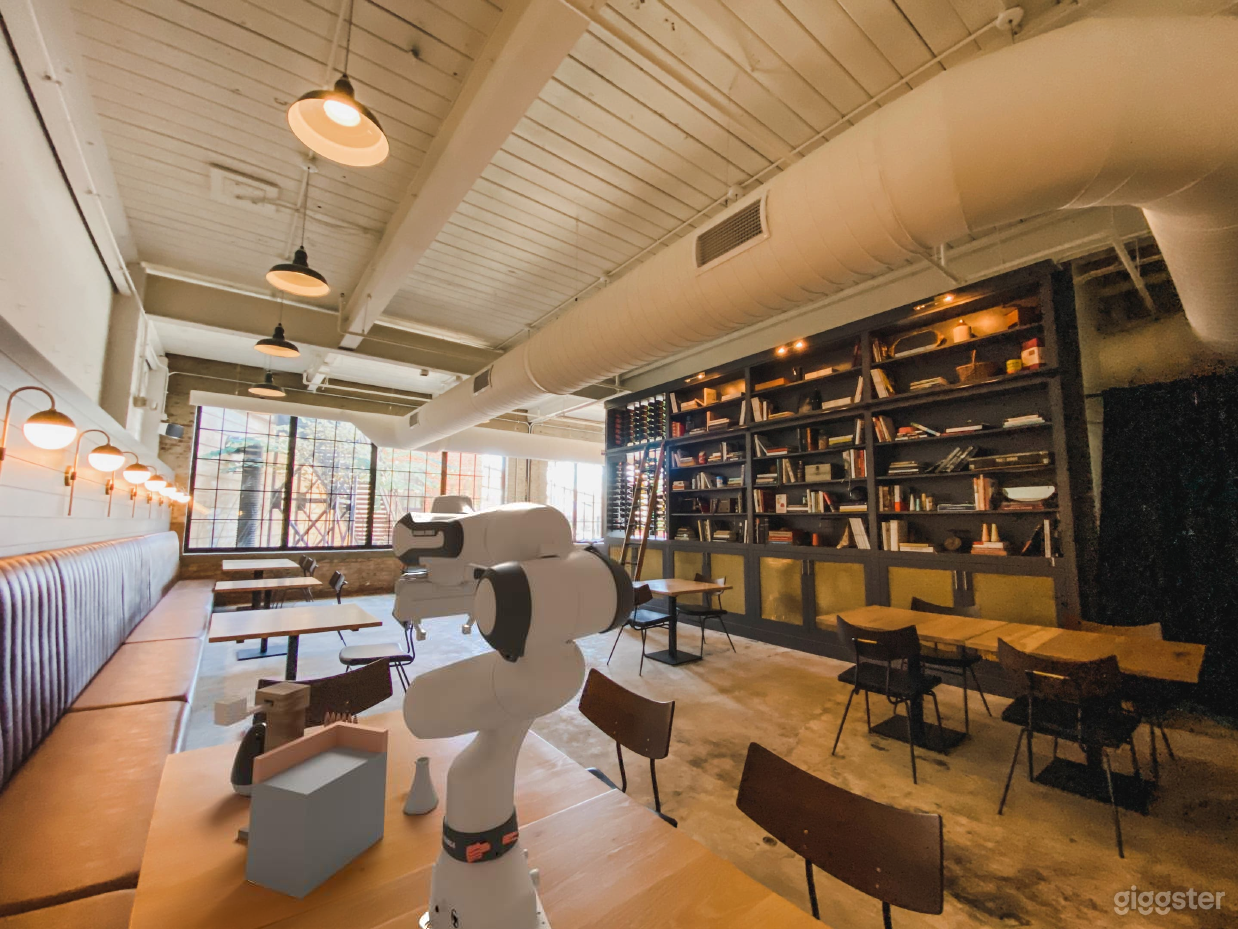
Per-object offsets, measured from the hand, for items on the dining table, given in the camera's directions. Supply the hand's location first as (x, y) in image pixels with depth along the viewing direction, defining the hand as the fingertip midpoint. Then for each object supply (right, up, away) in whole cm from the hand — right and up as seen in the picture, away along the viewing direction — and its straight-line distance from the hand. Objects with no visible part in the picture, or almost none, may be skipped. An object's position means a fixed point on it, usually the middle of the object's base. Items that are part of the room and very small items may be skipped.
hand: (444, 636), depth 107 cm
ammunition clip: (-38, -43, +28) cm, 64 cm away
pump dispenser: (-49, -41, +13) cm, 65 cm away
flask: (-7, -40, +6) cm, 41 cm away
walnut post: (-33, -39, -4) cm, 51 cm away
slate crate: (-20, -38, -11) cm, 44 cm away
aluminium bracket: (-35, -13, -6) cm, 38 cm away
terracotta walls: (-20, -22, -9) cm, 31 cm away
